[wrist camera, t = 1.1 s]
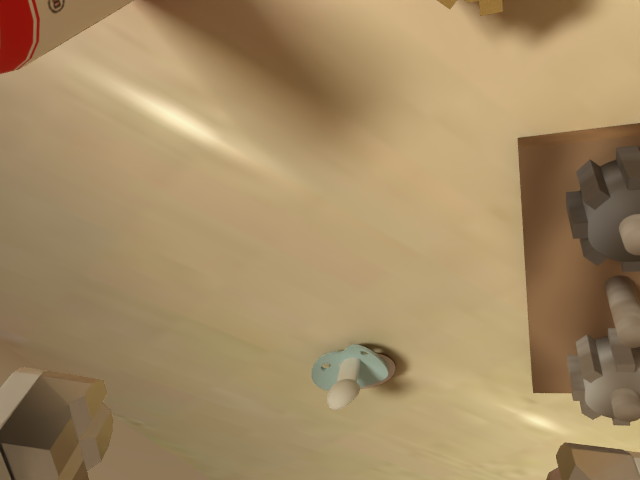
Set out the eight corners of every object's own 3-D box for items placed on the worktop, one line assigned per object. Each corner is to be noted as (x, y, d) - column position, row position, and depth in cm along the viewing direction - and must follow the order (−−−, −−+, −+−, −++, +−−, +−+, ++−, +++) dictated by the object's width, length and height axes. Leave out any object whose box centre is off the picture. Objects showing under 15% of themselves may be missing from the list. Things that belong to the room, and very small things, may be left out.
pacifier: (410, 369, 52) (373, 327, 50) (405, 429, 48) (363, 387, 45) (345, 389, 56) (308, 351, 54) (334, 447, 51) (293, 408, 49)
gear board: (738, 111, 33) (785, 168, 28) (692, 378, 46) (719, 451, 41) (517, 138, 37) (524, 192, 32) (531, 378, 50) (538, 445, 44)
